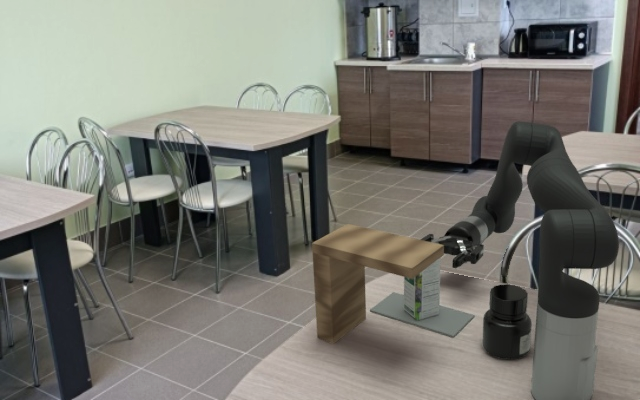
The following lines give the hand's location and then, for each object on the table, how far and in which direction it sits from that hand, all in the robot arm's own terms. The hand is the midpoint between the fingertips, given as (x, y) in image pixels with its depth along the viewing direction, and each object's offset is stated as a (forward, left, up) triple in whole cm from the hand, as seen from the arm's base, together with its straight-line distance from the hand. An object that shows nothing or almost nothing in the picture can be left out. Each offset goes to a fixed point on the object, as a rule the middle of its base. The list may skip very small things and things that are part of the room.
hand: (436, 260), depth 137 cm
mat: (0, +7, -10) cm, 12 cm away
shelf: (+2, +21, -10) cm, 24 cm away
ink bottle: (-20, +10, -10) cm, 25 cm away
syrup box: (0, +7, -10) cm, 12 cm away
